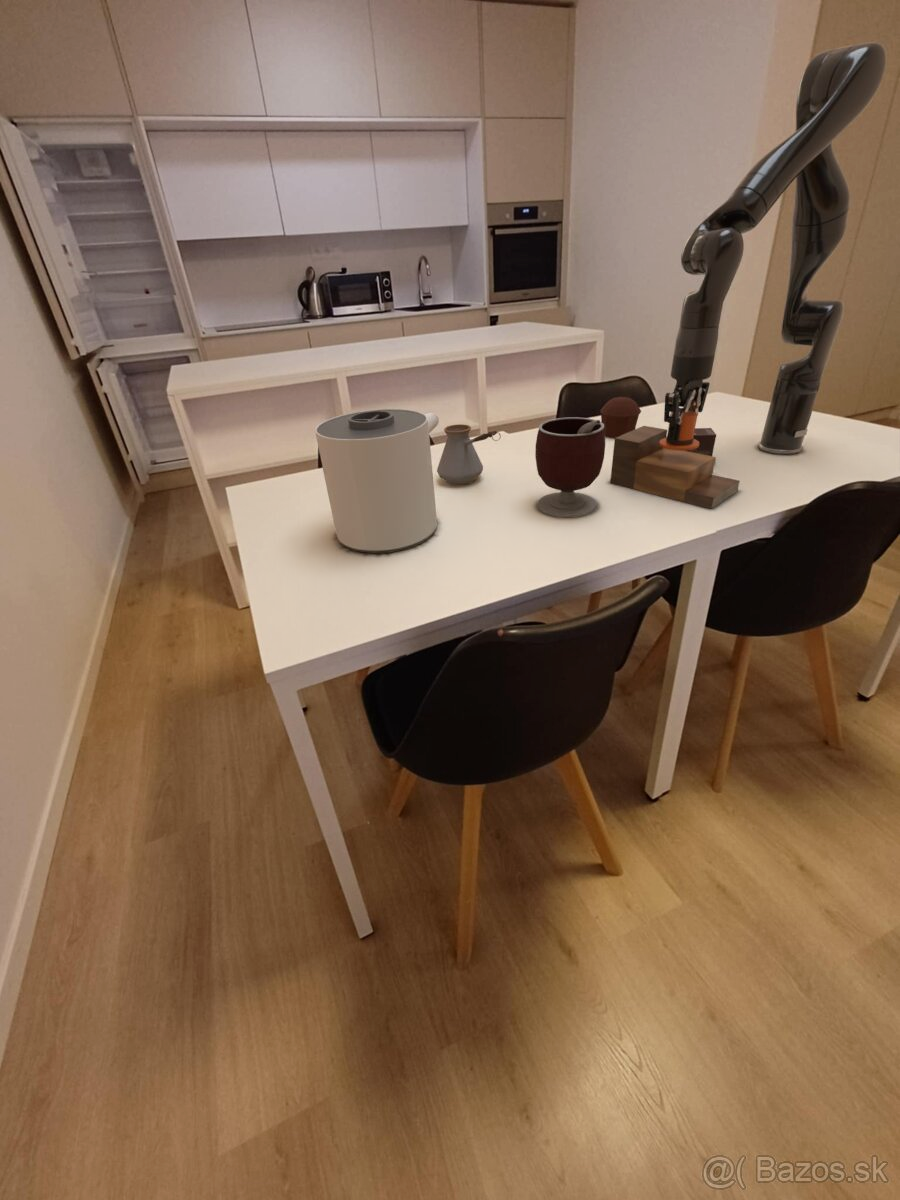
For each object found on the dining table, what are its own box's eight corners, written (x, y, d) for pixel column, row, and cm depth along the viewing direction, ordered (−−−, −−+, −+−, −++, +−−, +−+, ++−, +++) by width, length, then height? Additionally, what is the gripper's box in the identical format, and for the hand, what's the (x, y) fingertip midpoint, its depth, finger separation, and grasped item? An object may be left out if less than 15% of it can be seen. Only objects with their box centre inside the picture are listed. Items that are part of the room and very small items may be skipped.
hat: (670, 437, 118) (675, 406, 114) (705, 443, 113) (712, 411, 109) (651, 446, 114) (656, 414, 110) (687, 453, 109) (693, 420, 105)
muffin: (596, 428, 160) (599, 394, 155) (634, 427, 158) (638, 392, 153) (600, 440, 150) (603, 404, 145) (641, 439, 149) (645, 402, 143)
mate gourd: (522, 501, 118) (523, 409, 107) (575, 488, 122) (580, 398, 111) (561, 527, 106) (566, 426, 95) (618, 512, 110) (629, 413, 99)
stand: (638, 468, 130) (643, 425, 124) (737, 491, 114) (749, 443, 108) (610, 482, 123) (614, 438, 118) (711, 509, 108) (722, 458, 102)
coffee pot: (429, 479, 134) (423, 419, 125) (466, 468, 138) (463, 409, 130) (478, 504, 118) (475, 437, 110) (518, 491, 123) (518, 426, 115)
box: (710, 465, 128) (717, 434, 124) (684, 465, 130) (689, 435, 126) (706, 456, 133) (711, 427, 129) (680, 456, 135) (685, 427, 131)
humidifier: (362, 507, 121) (344, 402, 109) (449, 511, 116) (441, 401, 103) (319, 550, 104) (292, 432, 92) (419, 558, 99) (404, 433, 86)
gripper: (695, 359, 97) (679, 450, 106) (730, 347, 105) (712, 433, 114) (657, 356, 102) (645, 443, 111) (693, 345, 110) (679, 427, 119)
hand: (679, 437), depth 113 cm, fingers closed on hat, 5 cm apart
